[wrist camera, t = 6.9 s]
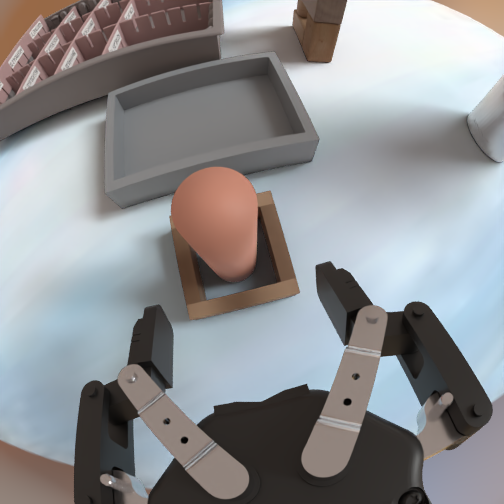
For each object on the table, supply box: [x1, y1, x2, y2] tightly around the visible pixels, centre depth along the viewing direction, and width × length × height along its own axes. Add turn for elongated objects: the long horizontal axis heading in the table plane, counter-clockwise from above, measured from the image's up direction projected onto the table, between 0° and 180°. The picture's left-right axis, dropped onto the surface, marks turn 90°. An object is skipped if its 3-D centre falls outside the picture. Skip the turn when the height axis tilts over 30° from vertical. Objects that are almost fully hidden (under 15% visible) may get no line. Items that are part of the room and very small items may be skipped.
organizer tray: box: [0, 0, 224, 141], centre depth 29 cm, size 32×40×10 cm
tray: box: [104, 51, 319, 209], centre depth 27 cm, size 20×14×4 cm
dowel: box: [171, 167, 258, 282], centre depth 19 cm, size 4×4×13 cm
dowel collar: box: [169, 191, 300, 320], centre depth 24 cm, size 9×9×3 cm
